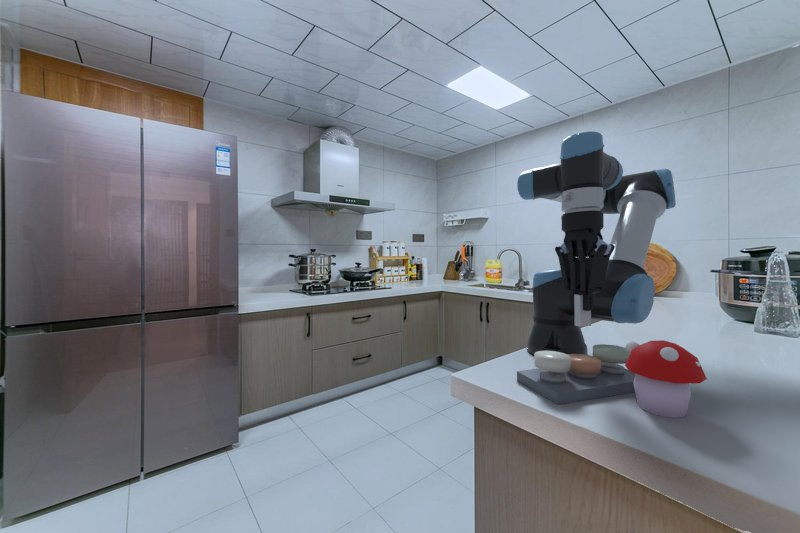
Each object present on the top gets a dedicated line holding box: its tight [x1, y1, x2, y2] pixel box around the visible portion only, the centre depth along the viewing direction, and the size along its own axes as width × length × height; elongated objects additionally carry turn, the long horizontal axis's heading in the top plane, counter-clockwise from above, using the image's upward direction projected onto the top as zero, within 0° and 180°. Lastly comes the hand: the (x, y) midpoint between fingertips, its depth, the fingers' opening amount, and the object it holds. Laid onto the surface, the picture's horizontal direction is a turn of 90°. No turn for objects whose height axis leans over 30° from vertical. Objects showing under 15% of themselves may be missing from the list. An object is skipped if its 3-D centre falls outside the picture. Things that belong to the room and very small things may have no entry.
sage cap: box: [592, 343, 630, 365], centre depth 68 cm, size 7×7×2 cm
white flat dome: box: [533, 351, 571, 372], centre depth 64 cm, size 7×7×2 cm
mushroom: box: [624, 339, 707, 419], centre depth 55 cm, size 11×11×12 cm
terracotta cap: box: [567, 354, 601, 375], centre depth 66 cm, size 7×7×2 cm
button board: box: [516, 361, 636, 405], centre depth 66 cm, size 12×23×3 cm, turn 105°
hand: (582, 325), depth 66 cm, fingers closed
